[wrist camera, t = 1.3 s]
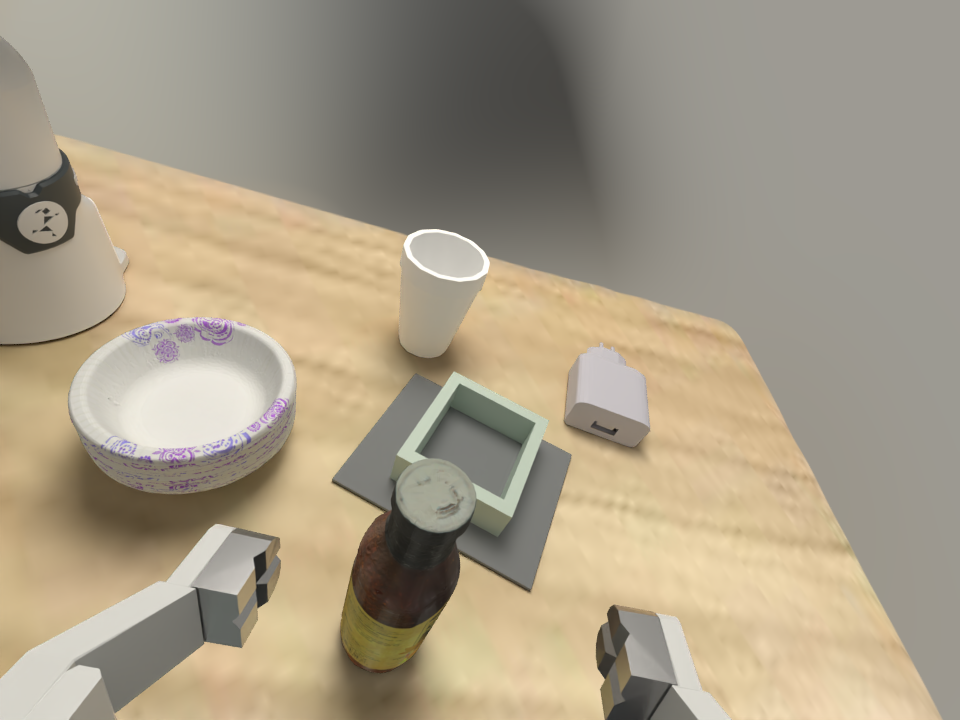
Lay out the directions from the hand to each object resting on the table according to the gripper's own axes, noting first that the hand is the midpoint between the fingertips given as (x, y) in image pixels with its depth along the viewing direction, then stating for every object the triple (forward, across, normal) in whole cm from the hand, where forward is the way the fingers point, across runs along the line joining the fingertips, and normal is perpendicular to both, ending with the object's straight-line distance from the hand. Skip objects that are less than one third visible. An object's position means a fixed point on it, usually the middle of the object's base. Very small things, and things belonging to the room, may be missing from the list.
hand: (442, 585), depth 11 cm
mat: (+29, 0, +21) cm, 36 cm away
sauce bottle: (+14, +4, +25) cm, 29 cm away
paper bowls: (+24, +23, +19) cm, 38 cm away
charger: (+46, -16, +18) cm, 52 cm away
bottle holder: (+30, -1, +20) cm, 36 cm away
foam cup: (+45, +8, +15) cm, 48 cm away
